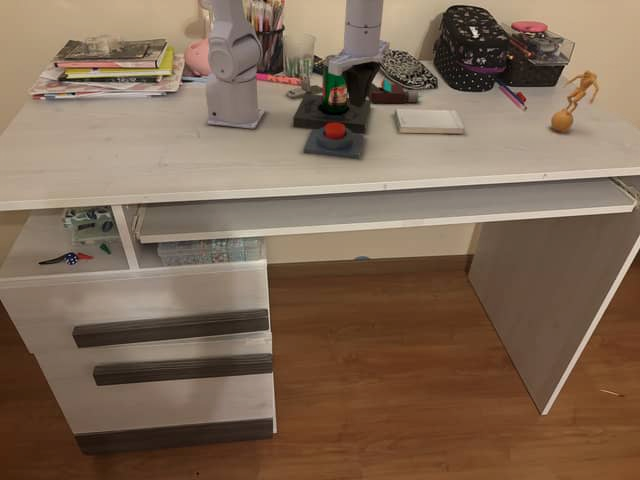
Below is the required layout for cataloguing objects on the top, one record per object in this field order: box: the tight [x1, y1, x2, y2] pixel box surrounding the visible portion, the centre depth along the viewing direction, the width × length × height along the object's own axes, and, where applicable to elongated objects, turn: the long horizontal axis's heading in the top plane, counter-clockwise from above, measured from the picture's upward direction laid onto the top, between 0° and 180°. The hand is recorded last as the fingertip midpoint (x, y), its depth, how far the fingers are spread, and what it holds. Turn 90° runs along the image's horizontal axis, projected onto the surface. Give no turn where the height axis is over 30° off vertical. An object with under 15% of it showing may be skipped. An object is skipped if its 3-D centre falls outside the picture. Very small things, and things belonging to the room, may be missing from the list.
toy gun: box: [367, 78, 422, 104], centre depth 112 cm, size 10×12×5 cm
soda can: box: [321, 54, 349, 115], centre depth 100 cm, size 5×5×12 cm
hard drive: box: [394, 108, 465, 135], centre depth 102 cm, size 2×8×12 cm
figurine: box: [550, 69, 600, 132], centre depth 99 cm, size 8×6×12 cm
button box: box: [303, 127, 365, 160], centre depth 94 cm, size 10×8×2 cm
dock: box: [292, 93, 372, 135], centre depth 103 cm, size 14×12×2 cm
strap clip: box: [286, 73, 322, 99], centre depth 112 cm, size 8×3×4 cm, turn 129°
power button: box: [325, 123, 345, 139], centre depth 93 cm, size 4×4×2 cm
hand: (356, 104), depth 89 cm, fingers closed
